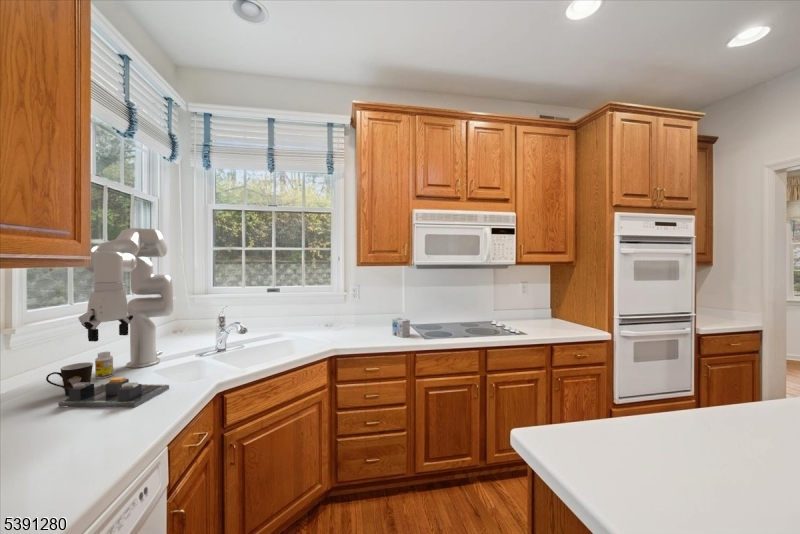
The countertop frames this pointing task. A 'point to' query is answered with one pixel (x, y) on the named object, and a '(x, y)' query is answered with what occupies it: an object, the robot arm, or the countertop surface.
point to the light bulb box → (401, 327)
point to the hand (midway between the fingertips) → (109, 338)
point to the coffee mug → (73, 375)
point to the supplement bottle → (104, 365)
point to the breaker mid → (115, 385)
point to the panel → (96, 397)
